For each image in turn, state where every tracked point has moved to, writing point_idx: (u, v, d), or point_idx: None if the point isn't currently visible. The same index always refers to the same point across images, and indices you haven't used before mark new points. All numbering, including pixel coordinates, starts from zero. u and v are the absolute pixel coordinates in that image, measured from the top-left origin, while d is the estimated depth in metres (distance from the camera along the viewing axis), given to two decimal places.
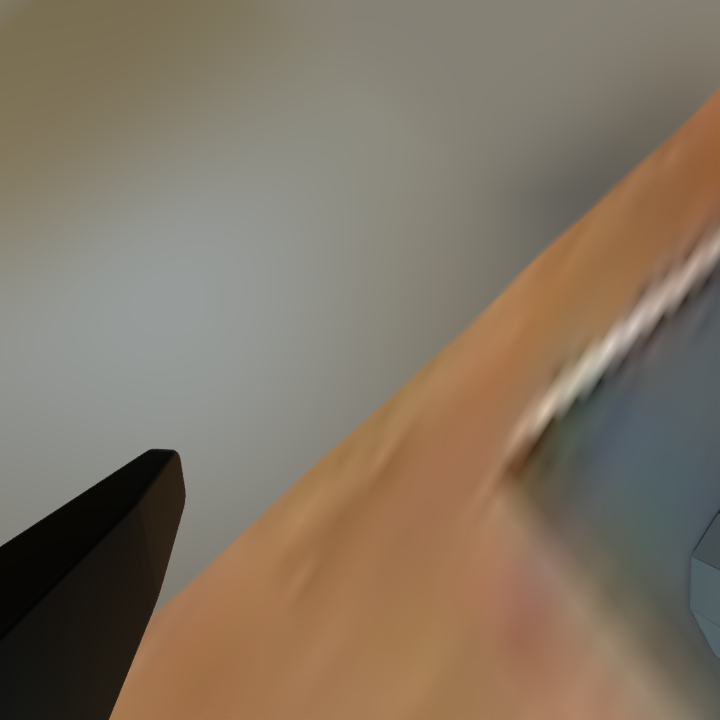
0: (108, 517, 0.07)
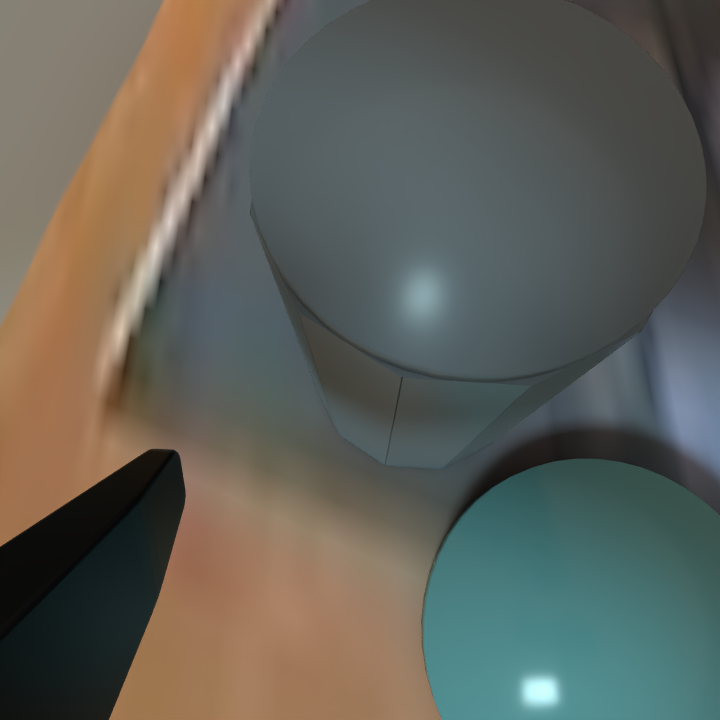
0: (108, 517, 0.07)
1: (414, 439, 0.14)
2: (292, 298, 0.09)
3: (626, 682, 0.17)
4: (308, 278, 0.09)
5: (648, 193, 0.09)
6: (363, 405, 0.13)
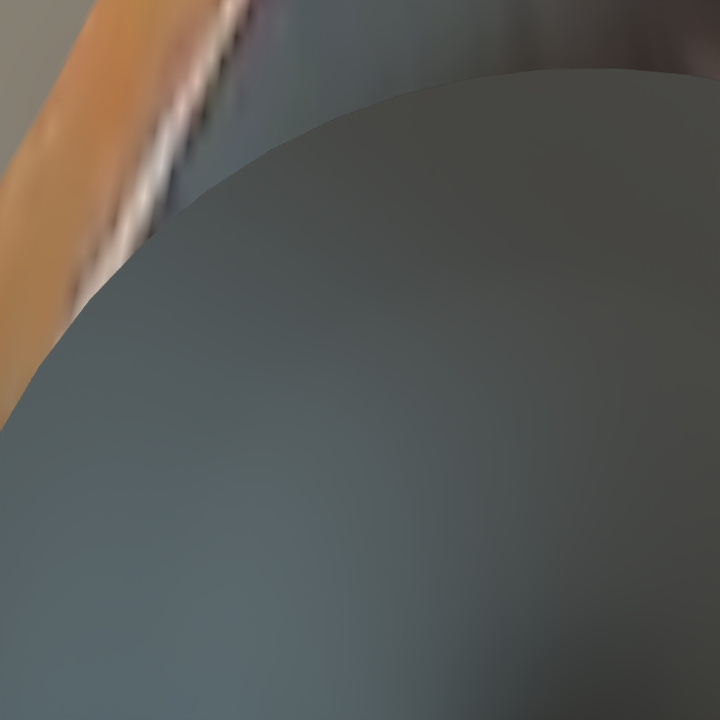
0: None
1: None
2: None
3: None
4: None
5: None
6: None
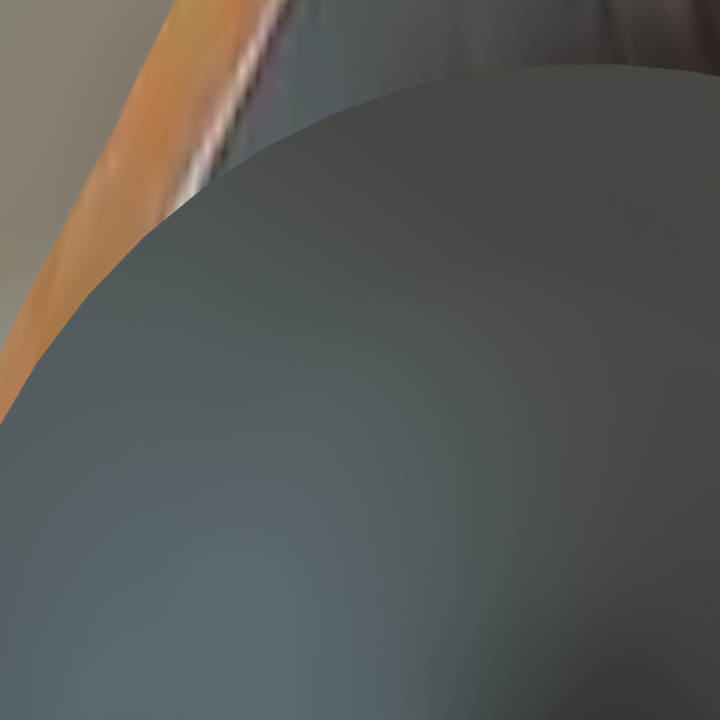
0: None
1: None
2: None
3: None
4: None
5: None
6: None
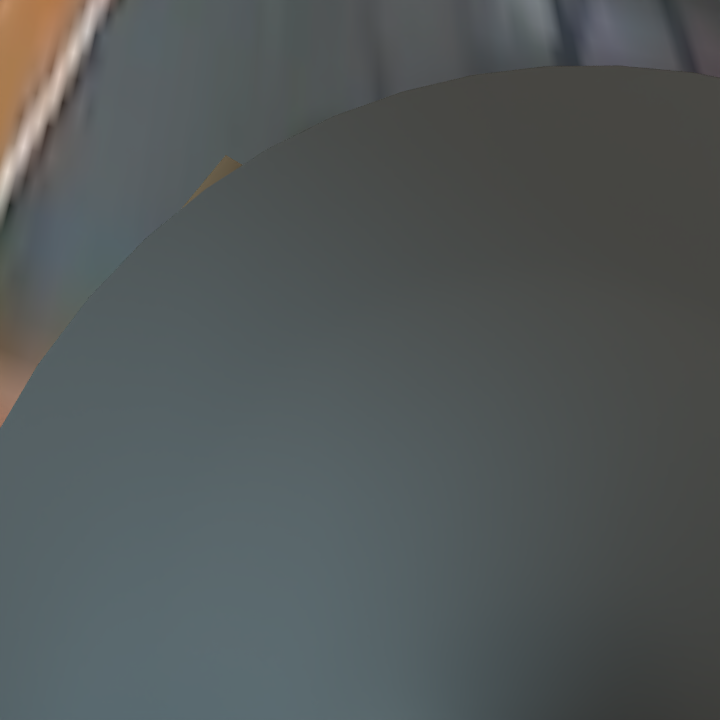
0: None
1: None
2: None
3: None
4: None
5: None
6: None
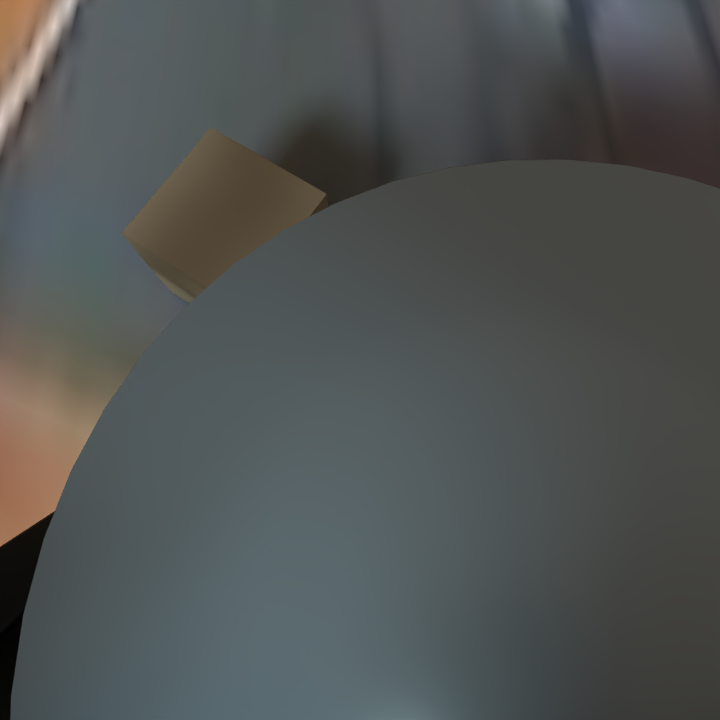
0: None
1: None
2: None
3: None
4: None
5: None
6: None
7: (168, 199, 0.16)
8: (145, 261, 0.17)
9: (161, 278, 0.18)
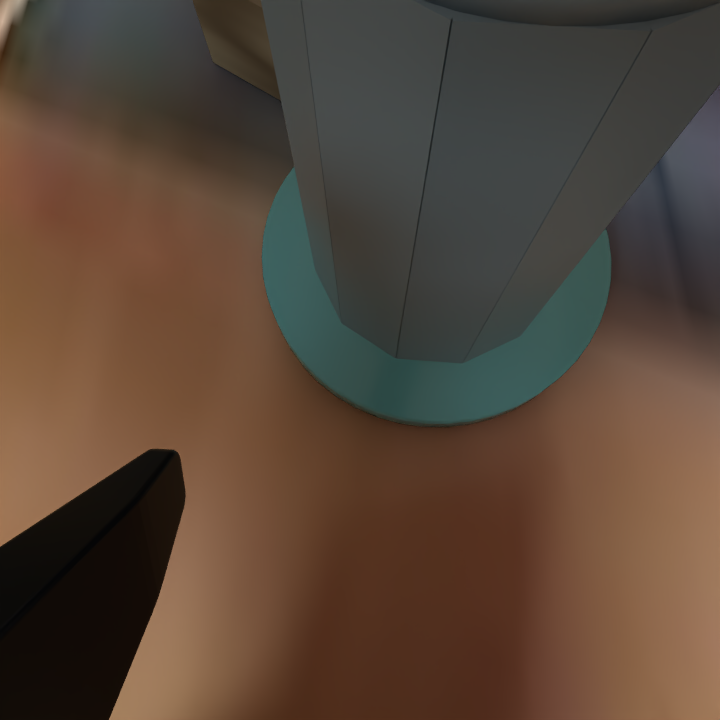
0: (108, 517, 0.07)
1: (441, 272, 0.11)
2: None
3: None
4: None
5: None
6: (379, 199, 0.10)
7: None
8: (196, 10, 0.20)
9: (207, 37, 0.21)
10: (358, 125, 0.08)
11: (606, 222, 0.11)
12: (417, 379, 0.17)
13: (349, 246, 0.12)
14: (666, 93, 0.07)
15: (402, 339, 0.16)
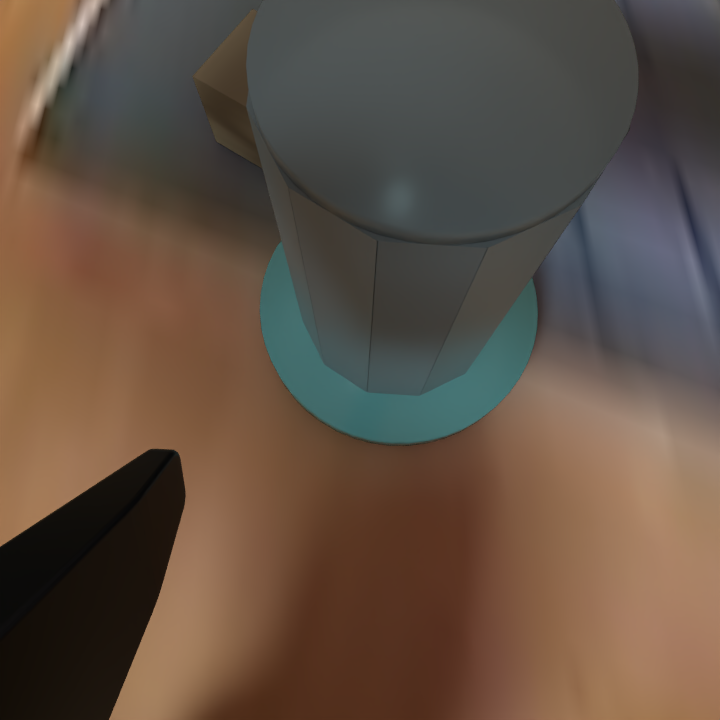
0: (108, 517, 0.07)
1: (392, 343, 0.16)
2: (283, 176, 0.11)
3: None
4: (297, 154, 0.10)
5: (589, 88, 0.11)
6: (345, 302, 0.14)
7: (224, 55, 0.23)
8: None
9: (212, 125, 0.25)
10: (329, 266, 0.13)
11: (506, 309, 0.16)
12: (384, 409, 0.22)
13: (327, 321, 0.17)
14: (514, 260, 0.12)
15: (370, 380, 0.20)
